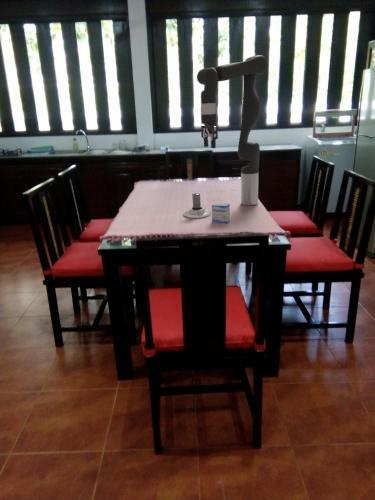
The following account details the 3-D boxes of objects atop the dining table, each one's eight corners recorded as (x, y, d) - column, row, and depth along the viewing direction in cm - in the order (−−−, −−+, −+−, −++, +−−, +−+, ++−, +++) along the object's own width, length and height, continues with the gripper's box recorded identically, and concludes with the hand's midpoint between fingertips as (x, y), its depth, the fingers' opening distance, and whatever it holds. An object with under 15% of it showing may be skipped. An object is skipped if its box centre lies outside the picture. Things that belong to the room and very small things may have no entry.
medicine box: (211, 222, 190) (211, 205, 187) (214, 220, 194) (214, 202, 191) (227, 223, 187) (227, 206, 184) (230, 221, 191) (229, 203, 188)
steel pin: (193, 212, 207) (192, 193, 203) (201, 211, 206) (200, 193, 202) (192, 214, 203) (191, 195, 199) (200, 214, 202) (199, 195, 199)
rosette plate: (185, 211, 212) (185, 205, 211) (211, 210, 210) (211, 204, 209) (182, 218, 199) (181, 212, 198) (209, 218, 197) (209, 211, 196)
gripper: (222, 112, 187) (222, 148, 192) (209, 112, 199) (210, 145, 205) (207, 114, 184) (208, 149, 190) (195, 113, 196) (197, 146, 202)
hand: (209, 147), depth 197 cm, fingers open, 8 cm apart
